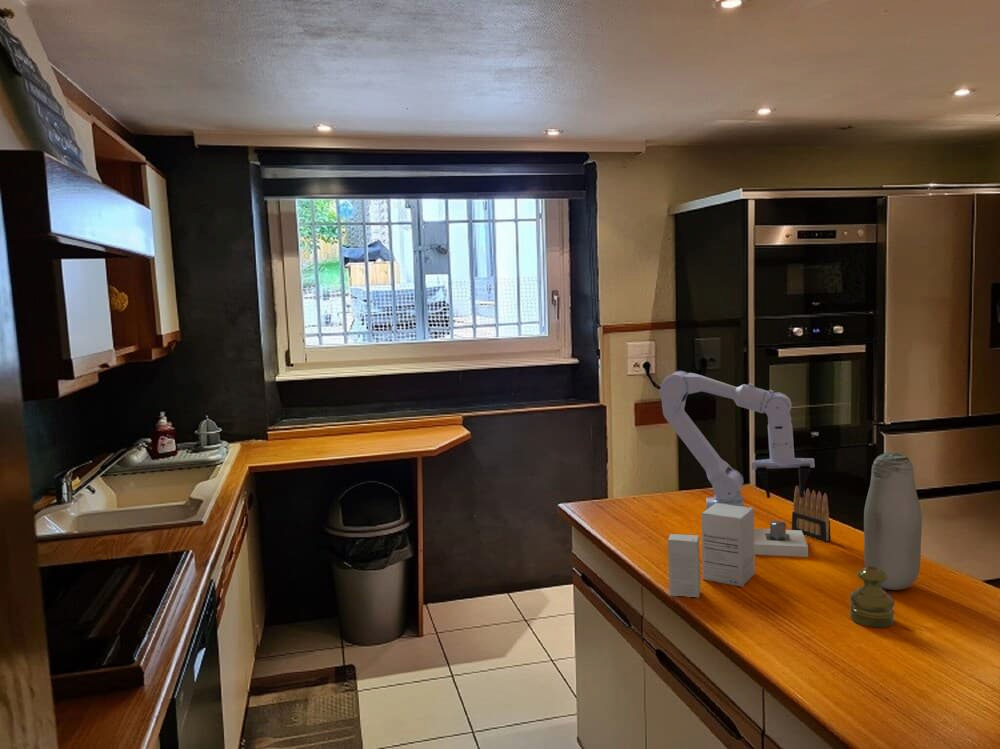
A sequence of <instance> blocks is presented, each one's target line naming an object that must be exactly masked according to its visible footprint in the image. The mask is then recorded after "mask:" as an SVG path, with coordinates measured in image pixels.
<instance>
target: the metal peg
mask: <svg viewBox="0 0 1000 749" xmlns="http://www.w3.org/2000/svg"><path fill="white" fill-rule="evenodd" d="M786 526H787V523H786V522H784V521H781V520H773V521H770V522H769V529H770V540H771V541H786V530H787V529H786V528H787V527H786Z"/></svg>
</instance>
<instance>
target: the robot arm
mask: <svg viewBox="0 0 1000 749" xmlns="http://www.w3.org/2000/svg"><path fill="white" fill-rule="evenodd" d="M660 384H661V385H660V389H659V395H660V398H661V408H662V414H663V417H664V418H665V420H666V422H667V423H668V424H669V425H670V426H671V428H672V429H673V430H674V432H675V433H676V434H677V436H678V437H679V438H680V439H681V441H682V442H683V443H684V444H685V446H686V448H687V449H688V450H689V451H690V452H691V454H692V455H693V456H694V458H695V459H696V460H697V462H698V463H699V464H700V466H701V467H702V468H703V470H704V471H705V473H706V477H707V479H708V481H709V483H710V484H711V486H712V491H713V493H714V495H713V497H705V500H706V501H705V502H706V504H705V505H706V508H705V509H706V510H707V509H708V508H710V507H711V506H712V505H714V504H715V503H721V504H728V505H734V506H742V507H744V496H743V494H742V493H741V491H740V490H742V488H743V486H744V477H743V474H741V473H740V472H739V471H738V470H736V469H734V468H732V466H731V465H730V464H729V463H728V462H727V461H725V460H723V459H722V458H721V457H720V455H719V454H718V452H717V451H716V450H715V448H714V447H713V445H711V443H710V441H708V440H707V438H706V437H705V435H704V434H703V433H702V431H701V430H700V429H699V428H698V426H697V425H696V424H695V423H694V421H693V420H692V419H691V417H690V416H689V415H688V413H687V412H686V411H685V407H686V402H687V401H686V400H687V397H688V395H691V394H695V393H696V394H697V393H699V392H704V393H708V394H710V395H714V396H719V397H723V398H728V399H730V400H733V401H734V403H735V405H736V406H737V407H739V408H743V409H747V410H750V411H753V412H757V413H760V414H766V415H767V423H768V424H767V435H768V436H767V437H768V451H769V458H766V459H756V460H754V459H753V460H751V461H750V462H751V469H752V470H756V473H757V476H758V477H759V478H760V480H761V483H762V486H763V487H764V490H765V493H766V498H767V499H771V492H770V486H769V475H768V474H769V472H768V469H792V468H794V469H795V468H797V471H798V479H799V480H798V481H799V483H798V484H799V486H798V488H799V496H800V497H803V494H804V492H805V488H806V483H807V480H808V479H809V477H810V474H811V469H812V468H815V467H816V466H815V459H814V458H811V457H810V458H809V457H807V458H806V457H805V458H804V457H795V450H794V449H795V448H794V433H793V432H794V430H793V423H792V416H791V409H792V404H793V403H792V401H791V398H790V397H789V396H787V395H786V394H784V393H782V392H774V390H772V389H769V390H766V389H763V388H760V387H759V388H758V387H756V386H755V383H750V382H749V383H748V384H745V383H744V384H741V385H739V386H735V385H731V384H728V383H726V382H722V381H719V380H716V379H713V378H711V377H707V376H704V375H702V374H698V373H693V372H687V371H683V370H677V371H675V372H673V373H672V374H669V375H667V376H665V377H664V378H663V380H662V382H661V383H660ZM706 510H705V511H706Z"/></svg>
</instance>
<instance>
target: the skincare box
mask: <svg viewBox="0 0 1000 749" xmlns="http://www.w3.org/2000/svg"><path fill="white" fill-rule="evenodd" d="M667 552H668V554H667V555H668V584H669V585H668V586H669V587H668V588H669V593H668V594H669V596H670V597H677V596H687V597H686V598H690V597H697V598H696V599H700V595H701V565H700V561H701V560H700V537H699V535H695V534H692V535H691V534H690V535H689V534H675V533H670V535H669V537H668V539H667Z"/></svg>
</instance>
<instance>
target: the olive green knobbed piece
mask: <svg viewBox="0 0 1000 749" xmlns="http://www.w3.org/2000/svg"><path fill="white" fill-rule="evenodd" d="M857 576H858V577H859V578H860V579H861V580H862V581H863V585H861V587H859V588H858V589H855V590H853V591H852V592H851V593H850V595H849V600H850V602H851V604H850V605H849V609H850V611H849V617H850V619H851V620H852V621H853V622H855V623H857V624H859V625H861V626H864V627H869V628H877V629H880V628H881V629H883V628H889V627H891V626H893V625H894V623H895V610H894V609H893V608H895V599H894V598H893V596H892V595H890V594H889V593H887V592H886V590H885V589H884V588H882V587H881V586H880V584H881V583H882V582H883V581H885V580H886V579H887V574H886V573H885V572H883V571H881V570H879V569H877V568H876V567H867V568H866V567H864V568H861V569H858V570H857Z"/></svg>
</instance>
